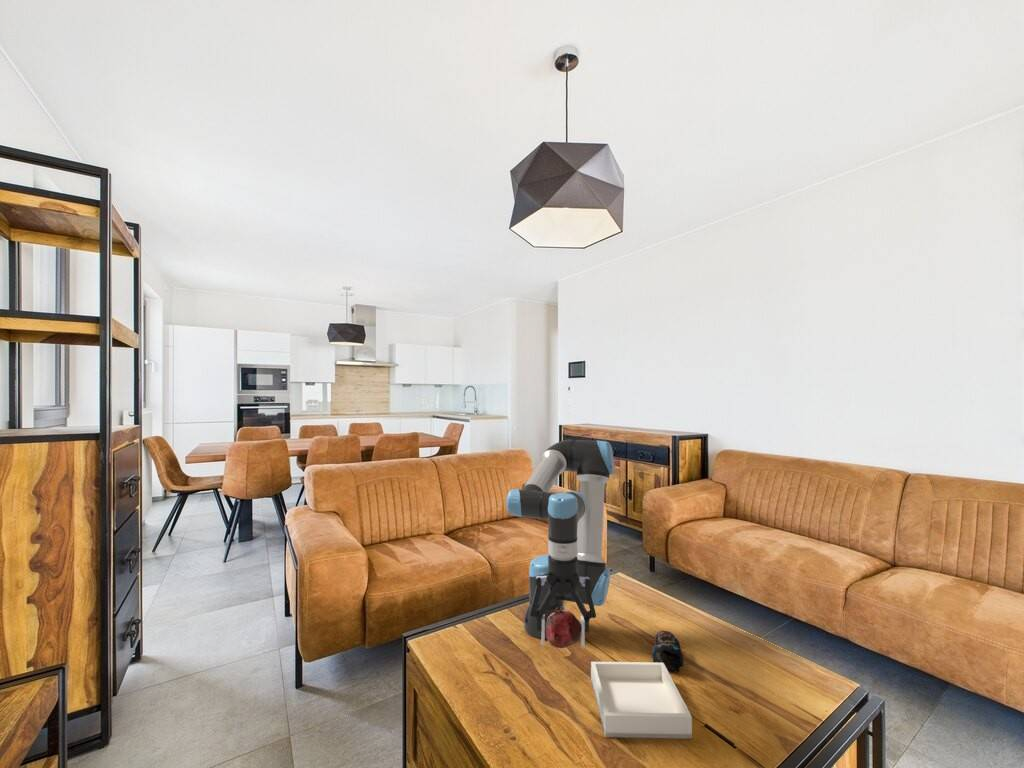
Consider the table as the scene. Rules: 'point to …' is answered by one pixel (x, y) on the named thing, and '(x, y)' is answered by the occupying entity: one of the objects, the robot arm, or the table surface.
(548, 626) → the fruit
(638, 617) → the table surface
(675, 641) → the figurine
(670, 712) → the dish
